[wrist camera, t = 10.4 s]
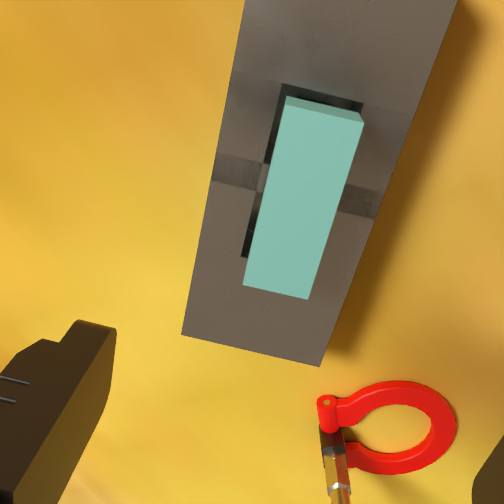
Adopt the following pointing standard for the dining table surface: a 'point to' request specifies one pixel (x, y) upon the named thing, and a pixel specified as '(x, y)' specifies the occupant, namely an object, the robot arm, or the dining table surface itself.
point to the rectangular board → (263, 142)
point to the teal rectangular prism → (301, 195)
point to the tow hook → (357, 456)
